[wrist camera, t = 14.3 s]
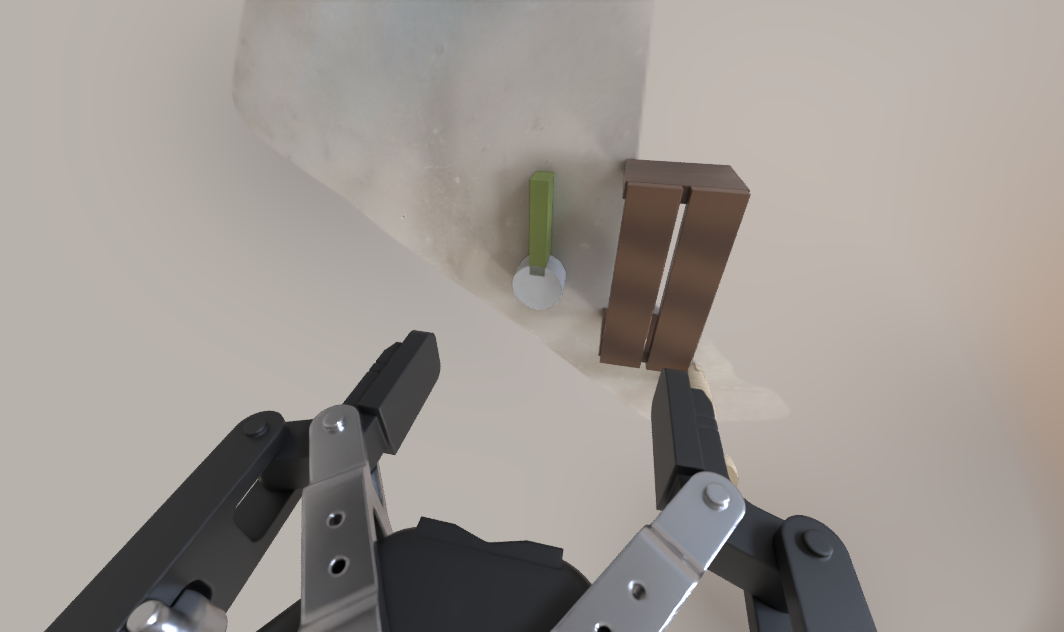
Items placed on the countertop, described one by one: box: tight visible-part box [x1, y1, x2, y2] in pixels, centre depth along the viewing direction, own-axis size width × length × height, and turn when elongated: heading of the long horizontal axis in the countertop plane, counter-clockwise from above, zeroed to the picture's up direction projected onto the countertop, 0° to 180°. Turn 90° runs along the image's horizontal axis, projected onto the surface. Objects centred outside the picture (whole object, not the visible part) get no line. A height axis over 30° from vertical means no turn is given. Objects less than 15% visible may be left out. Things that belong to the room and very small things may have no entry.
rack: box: [599, 159, 750, 372], centre depth 36 cm, size 18×9×8 cm, turn 179°
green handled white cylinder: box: [512, 171, 566, 310], centre depth 40 cm, size 14×6×3 cm, turn 179°
